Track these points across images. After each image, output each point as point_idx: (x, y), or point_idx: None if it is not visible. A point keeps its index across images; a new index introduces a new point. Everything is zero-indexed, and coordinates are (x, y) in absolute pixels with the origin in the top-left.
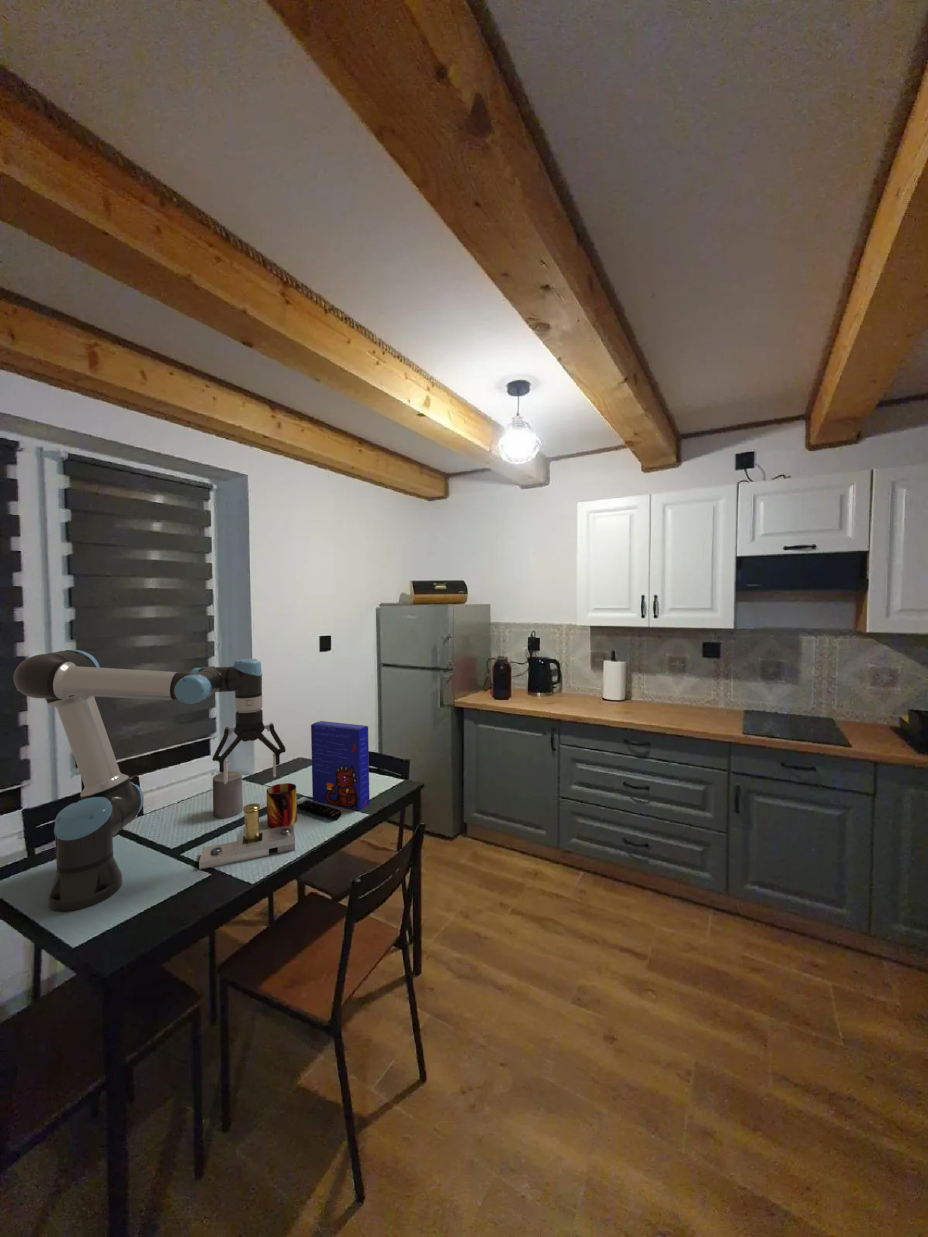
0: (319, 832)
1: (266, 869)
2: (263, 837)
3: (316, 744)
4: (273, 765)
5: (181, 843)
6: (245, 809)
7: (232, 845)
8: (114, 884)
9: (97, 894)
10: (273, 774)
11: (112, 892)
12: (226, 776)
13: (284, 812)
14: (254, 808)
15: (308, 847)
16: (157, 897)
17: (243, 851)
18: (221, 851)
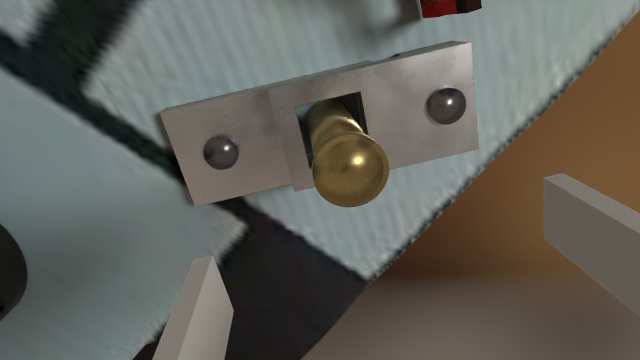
0: (540, 24)
1: (389, 225)
2: (371, 130)
3: None
4: (616, 294)
5: (33, 5)
6: (329, 201)
7: (261, 116)
8: (11, 286)
9: (1, 318)
10: (557, 248)
11: (23, 282)
12: (223, 352)
13: (453, 13)
14: (370, 197)
15: (499, 127)
16: (154, 299)
17: None
18: (238, 152)
